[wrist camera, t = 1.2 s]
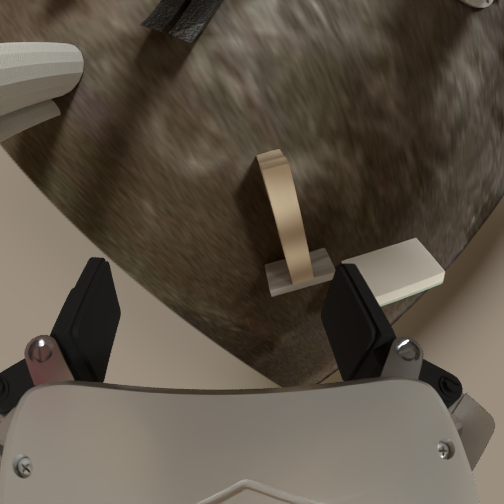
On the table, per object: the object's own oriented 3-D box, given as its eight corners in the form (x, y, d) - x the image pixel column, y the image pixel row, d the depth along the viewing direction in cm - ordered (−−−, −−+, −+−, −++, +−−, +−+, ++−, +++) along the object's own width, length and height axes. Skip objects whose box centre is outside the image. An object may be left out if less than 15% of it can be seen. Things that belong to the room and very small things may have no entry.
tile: (415, 237, 38) (444, 271, 31) (414, 248, 39) (442, 282, 32) (341, 260, 39) (362, 301, 32) (342, 271, 40) (362, 312, 33)
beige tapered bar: (230, 162, 30) (232, 179, 26) (304, 142, 29) (317, 155, 25) (266, 270, 38) (271, 296, 34) (325, 253, 38) (337, 278, 34)
